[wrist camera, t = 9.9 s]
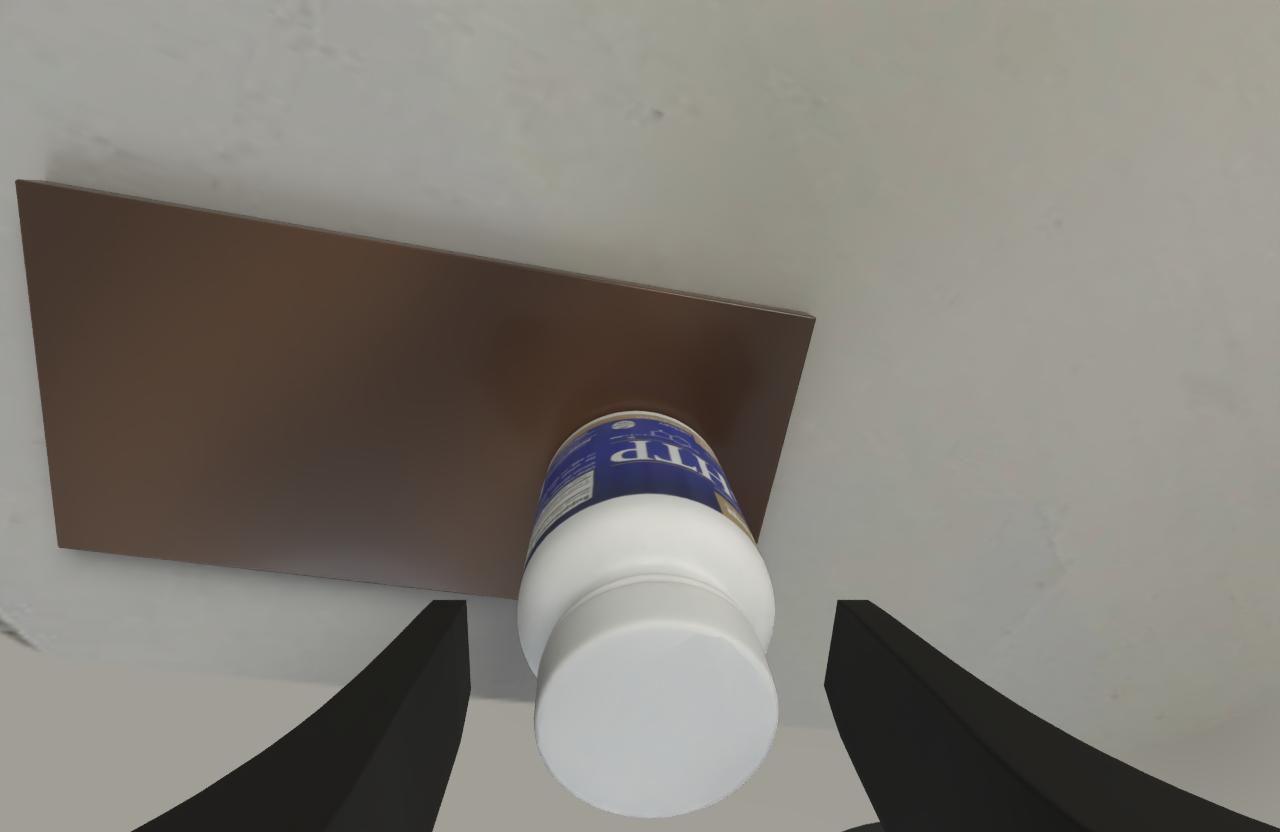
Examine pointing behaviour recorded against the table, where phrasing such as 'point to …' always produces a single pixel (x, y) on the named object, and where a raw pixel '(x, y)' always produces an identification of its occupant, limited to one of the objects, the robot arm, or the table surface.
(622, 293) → the corner board
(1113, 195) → the table surface
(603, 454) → the pill bottle
